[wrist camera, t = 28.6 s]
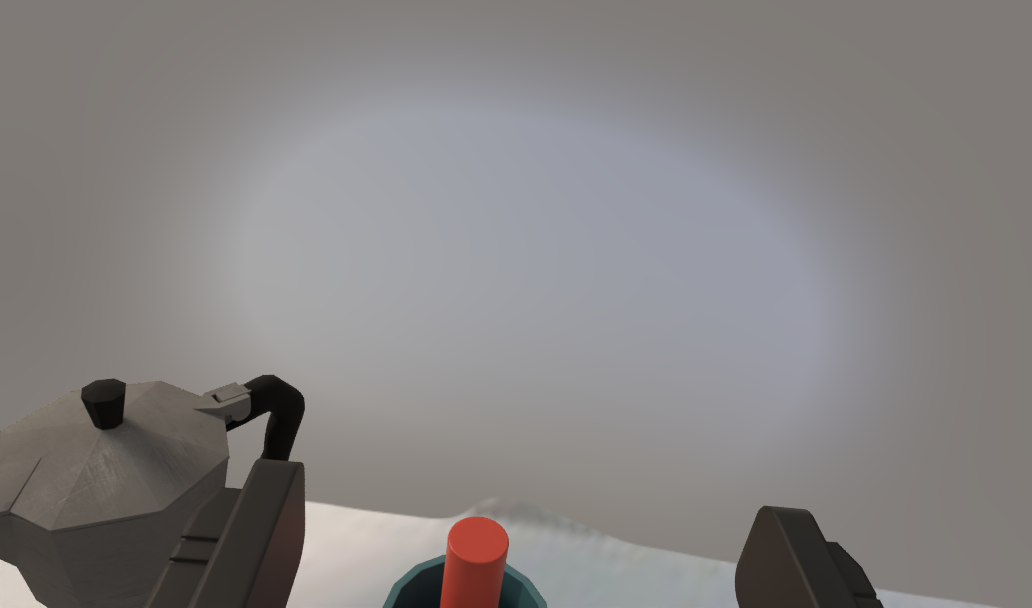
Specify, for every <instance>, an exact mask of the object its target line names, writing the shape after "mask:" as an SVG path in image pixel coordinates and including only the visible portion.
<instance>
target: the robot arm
mask: <svg viewBox="0 0 1032 608" xmlns="http://www.w3.org/2000/svg"><path fill="white" fill-rule="evenodd" d="M304 473H305V472H304V465H303V463H302V462H291V461H280V460H269V459H258V460H256V462H255V463H254V465H253V467H252V469H251V471H250V474H249V476H248V478H247V480H246V482H245V484H244V487H243V489H236V488H224V487H219V488H218V489H217V490H216V491H215V492H214V493H212V494H211V495H210V496H209V497H208V498H207V499H206V500H204V501H203V502H202V503H201V504H200V505H199V506H198V507H196V508H195V510H194V511H193V513H192V515H191V517H190V519H189V521H188V523H187V525H186V527H185V528H184V530H183V532H182V534H181V539H180V541H178V542H177V544H176V546H175V547H174V549H173V551H172V553H171V555H170V557H169V562H168V563H166V565H165V566H164V568H163V570H162V572H161V574H160V576H159V578H158V580H157V582H156V583H155V585H154V587H153V589H152V591H151V593H150V595H149V597H148V599H147V601H146V602H145V604H144V606H143V608H286V604H287V601H288V598H289V595H290V592H291V589H292V586H293V583H294V579H295V576H296V573H297V570H298V567H299V563H300V560H301V555H302V550H303V544H304V536H305V474H304ZM735 591H736V597H737V601H738V605H739V608H884V607H883V605H882V603H881V601H880V600H878V599H877V598H876V592H875V591H874V589H873V587H872V585H871V583H870V582H869V580H868V578H867V576H866V574H865V572H864V571H863V569H862V567H861V566H860V565H859V564H858V563H857V562H856V561H855V560H854V559H853V558H852V557H851V556H850V555H849V554H848V553H847V552H846V551H845V550H844V549H843V548H842V547H841V546H840V545H839V544H838V543H837V542H826V540H825V538H824V536H823V534H822V533H821V531H820V529H819V527H818V525H817V523H816V521H815V519H814V517H813V515H812V514H811V513H810V512H809V511H808V510H805V509H795V508H784V507H773V506H763V507H762V508H761V509H760V510H759V511H758V513H757V516H756V518H755V521H754V523H753V526H752V528H751V531H750V534H749V536H748V539H747V541H746V544H745V546H744V549H743V552H742V554H741V557H740V559H739V562H738V564H737V568H736V574H735Z"/></svg>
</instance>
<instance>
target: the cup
mask: <svg viewBox="0 0 1032 608" xmlns="http://www.w3.org/2000/svg"><path fill="white" fill-rule="evenodd" d="M445 559H446V555H442V556H440V557H437V558H434V559H432V560H429V561H426V562H423V563H421V564H418V565H416V566H415V567H414V568H412V569H411V570H410V571H409V572H408V573H407V574H405V575H404V576H403V577H402V578H401V579H400V580H398V581H397V582H396V583H395V584H394V585H393V587H392V589H391V591H390V593H389V595H388V597H387V600H386V602H385V604H384V606H383V608H440V602H441V593H442V585H443V576H444V568H445ZM498 608H547V604H546V602H545V600H544V599H543V598H542V596H541V595H540V593H539V592H538V591H537V589H536V588H535V587H534V585H533V584H532V582H531V581H530V580H529V579H528V578H527V577H526V576H524V575H523V574H521V573H520V572H518V571H517V570H515V569H514V568H512V567H511V566H509V565H508V564H505V569H504V575H503V581H502V587H501V592H500V598H499V604H498Z"/></svg>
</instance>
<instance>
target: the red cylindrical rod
mask: <svg viewBox="0 0 1032 608" xmlns="http://www.w3.org/2000/svg"><path fill="white" fill-rule="evenodd" d="M508 546H509V539H508V536H507V533H506V531H505V530H504V529H503V527H502V526H500V525H499V524H498V523H496V522H495V521H493V520H491V519H488V518H484V517H469V518H465V519H463V520H460V521H459V522H457V523H456V524H455V525H454V526H453V527H452V528H451V530H450V532H449V535H448V542H447V551H446V559H445V568H444V576H443V585H442V593H441V602H440V608H498V604H499V598H500V592H501V587H502V581H503V575H504V569H505V564H506V558H507V552H508Z"/></svg>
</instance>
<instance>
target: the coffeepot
mask: <svg viewBox="0 0 1032 608" xmlns="http://www.w3.org/2000/svg"><path fill="white" fill-rule="evenodd" d="M304 410H305V402H304V397H303V395H302V394H301V393H300V392H299V391H298V390H297V389H296V388H294V387H293V386H291V385H289V384H288V383H286V382H284V381H283V380H281V379H280V378H278V377H276V376H274V375H262V376H260V377H257V378H255V379H253V380H251V381H249V382H247V383H246V384H241V385H238V384H237V383H232V384H229V385H226V386H223V387H220V388H218V389H215V390H212V391H209V392H206V393H204V395H203V396H202V397H201V396H199V395H196V394H193V393H191V392H188V391H186V390H183V389H180V388H178V387H175V386H173V385H170V384H168V383H165V382H162V381H155V382H147V383H138V384H129V385H126V383H124V382H121V381H119V380H116V379H106V380H97V381H94V382H92V383H91V384H89V385H87V386H85V387H84V388H82V390H77V391H71V392H70V393H68V394H66V395H64V396H63V397H61V398H59V399H57V400H55V401H54V402H52V403H50V404H48V405H46V406H45V407H43V408H41V409H39V410H38V411H36V412H34V413H32V414H30V415H29V416H27V417H25V418H23V419H22V420H20V421H18V422H16V423H15V424H13V425H11V426H9V427H7V428H6V429H4V430H2V431H0V559H1V560H3V561H5V562H7V563H10V564H12V565H14V566H16V567H17V568H18V569H19V571H20V573H21V575H22V576H23V578H24V580H25V581H26V583H27V585H28V587H29V588H30V590H31V592H32V593H33V595H34V597H35V599H36V600H37V601H39V602H40V603H42V604H43V605H45V606H46V607H48V608H143V606H144V604H145V602H146V601H147V599H148V597H149V595H150V593H151V591H152V589H153V587H154V585H155V583H156V582H157V580H158V578H159V576H160V574H161V572H162V570H163V568H164V566H165V565H166V563H168V562H169V557H170V555H171V553H172V551H173V549H174V547H175V546H176V544H177V542H178V541H180V539H181V534H182V532H183V530H184V528H185V527H186V525H187V523H188V521H189V519H190V517H191V515H192V513H193V511H194V510H195V508H196V507H198V506H199V505H200V504H201V503H202V502H203V501H204V500H206V499H207V498H208V497H209V496H210V495H211V494H212V493H214V492H215V491H216V490H217V489H218V488H219V487H224V488H225V482H226V473H227V465H228V459H229V450H228V441H227V433H226V432H228V431H230V430H232V429H234V428H236V427H239V426H241V425H243V424H245V423H247V422H249V421H250V420H252V419H254V418H256V417H258V416H259V415H262V414H264V413H266V412H269V411H270V412H271V414H270V417H269V420H268V423H267V428H266V433H265V441H264V450H263V453H262V455H261V457H260V459H269V460H280V461H288V459H289V456H290V452H291V449H292V446H293V443H294V440H295V437H296V434H297V431H298V429H299V426H300V423H301V420H302V418H303V414H304Z"/></svg>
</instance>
